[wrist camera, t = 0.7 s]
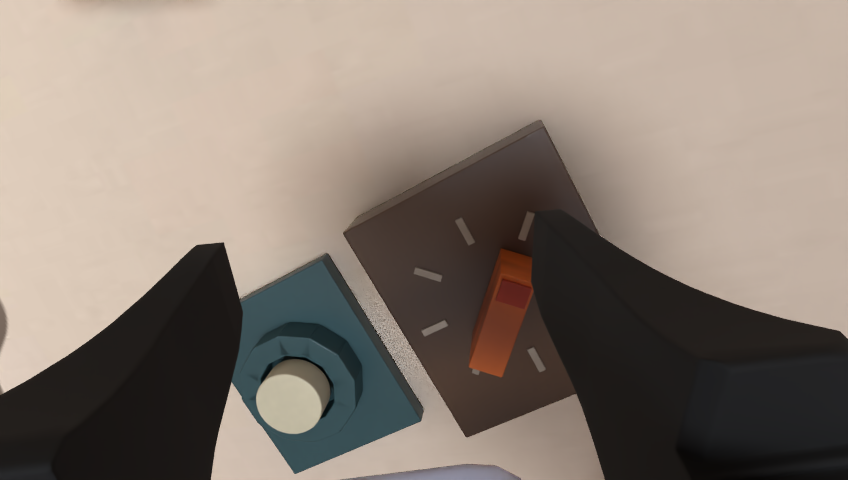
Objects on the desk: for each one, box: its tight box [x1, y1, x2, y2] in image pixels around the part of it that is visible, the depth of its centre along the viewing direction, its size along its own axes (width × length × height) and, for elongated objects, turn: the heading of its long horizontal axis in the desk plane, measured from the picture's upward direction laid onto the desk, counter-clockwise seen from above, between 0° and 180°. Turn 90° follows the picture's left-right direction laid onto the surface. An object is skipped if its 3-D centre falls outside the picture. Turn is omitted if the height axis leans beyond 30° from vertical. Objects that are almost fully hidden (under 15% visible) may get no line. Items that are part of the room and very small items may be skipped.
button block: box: [231, 254, 424, 474], centre depth 34 cm, size 11×9×3 cm
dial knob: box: [469, 249, 534, 377], centre depth 28 cm, size 5×2×4 cm, turn 165°
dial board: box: [343, 120, 599, 437], centre depth 31 cm, size 13×11×3 cm
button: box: [256, 359, 330, 434], centre depth 32 cm, size 4×4×2 cm
